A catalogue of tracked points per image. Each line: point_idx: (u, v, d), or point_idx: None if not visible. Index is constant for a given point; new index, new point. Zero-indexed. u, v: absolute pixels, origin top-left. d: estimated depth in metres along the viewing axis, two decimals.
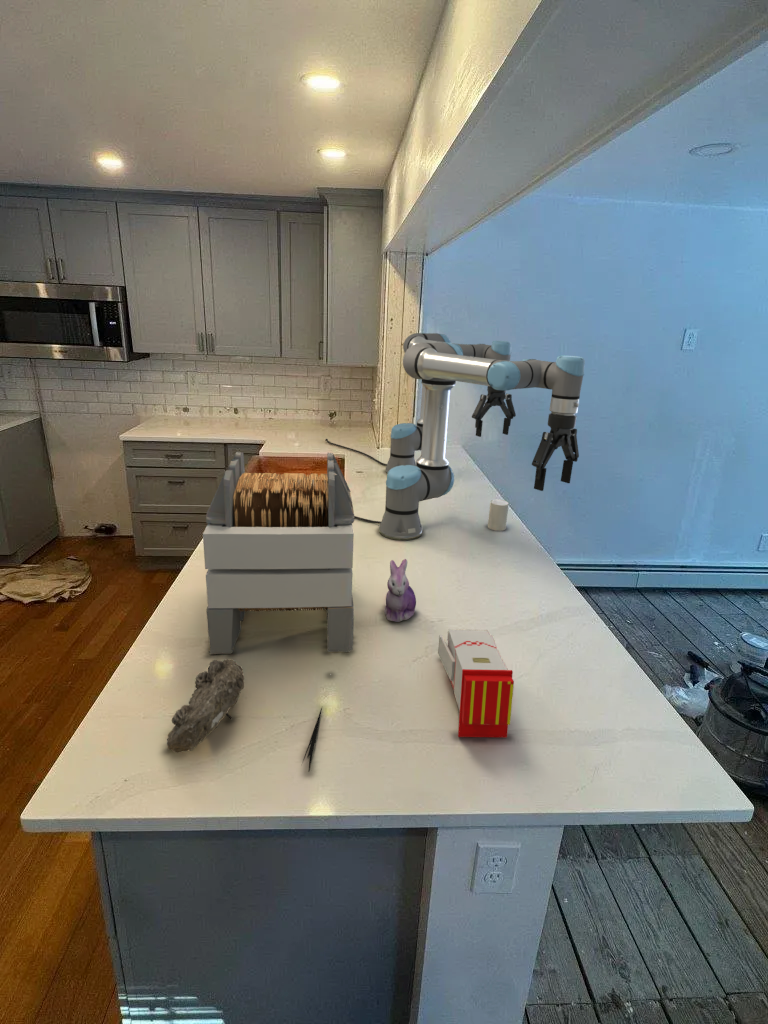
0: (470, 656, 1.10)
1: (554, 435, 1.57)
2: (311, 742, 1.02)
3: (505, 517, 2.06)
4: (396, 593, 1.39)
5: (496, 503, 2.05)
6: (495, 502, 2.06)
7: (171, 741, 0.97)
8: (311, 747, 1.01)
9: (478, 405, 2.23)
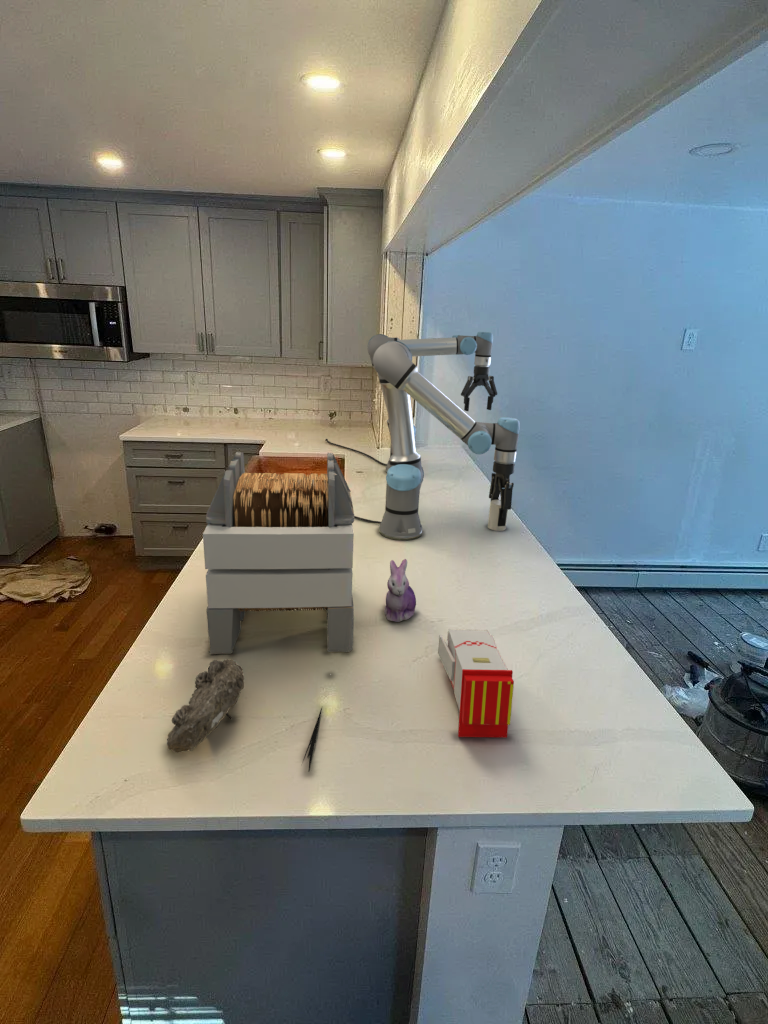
0: (470, 656, 1.10)
1: None
2: (311, 742, 1.02)
3: None
4: (396, 593, 1.39)
5: (496, 503, 2.05)
6: (495, 502, 2.06)
7: (171, 741, 0.97)
8: (311, 747, 1.01)
9: (466, 385, 2.71)
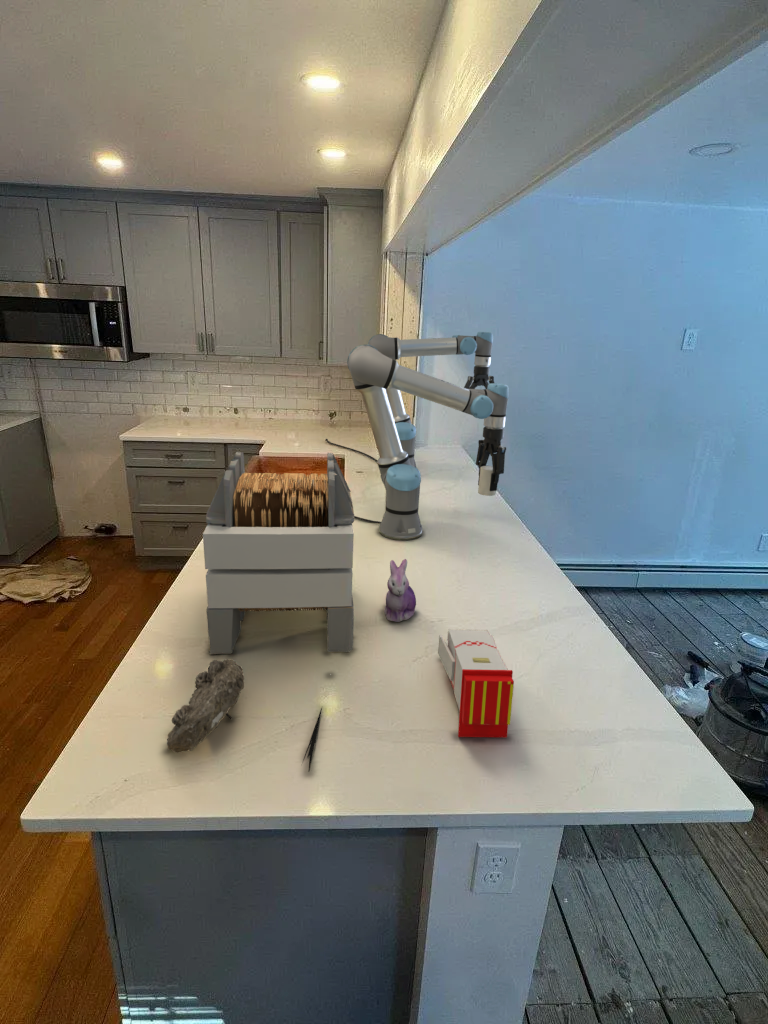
0: (470, 656, 1.10)
1: (500, 446, 2.05)
2: (311, 742, 1.02)
3: None
4: (396, 593, 1.39)
5: (487, 469, 2.09)
6: (485, 468, 2.10)
7: (171, 741, 0.97)
8: (311, 747, 1.01)
9: (466, 385, 2.71)
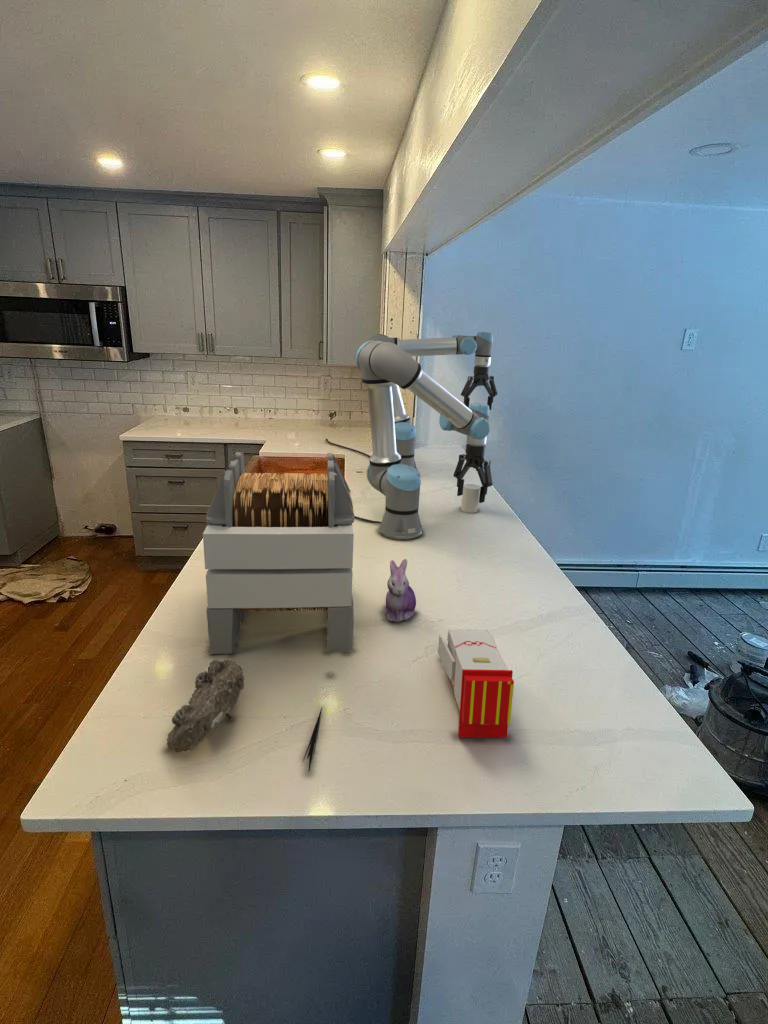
0: (470, 656, 1.10)
1: None
2: (311, 742, 1.02)
3: (478, 499, 2.25)
4: (396, 593, 1.39)
5: (471, 487, 2.22)
6: (468, 487, 2.23)
7: (171, 741, 0.97)
8: (311, 747, 1.01)
9: (466, 385, 2.71)
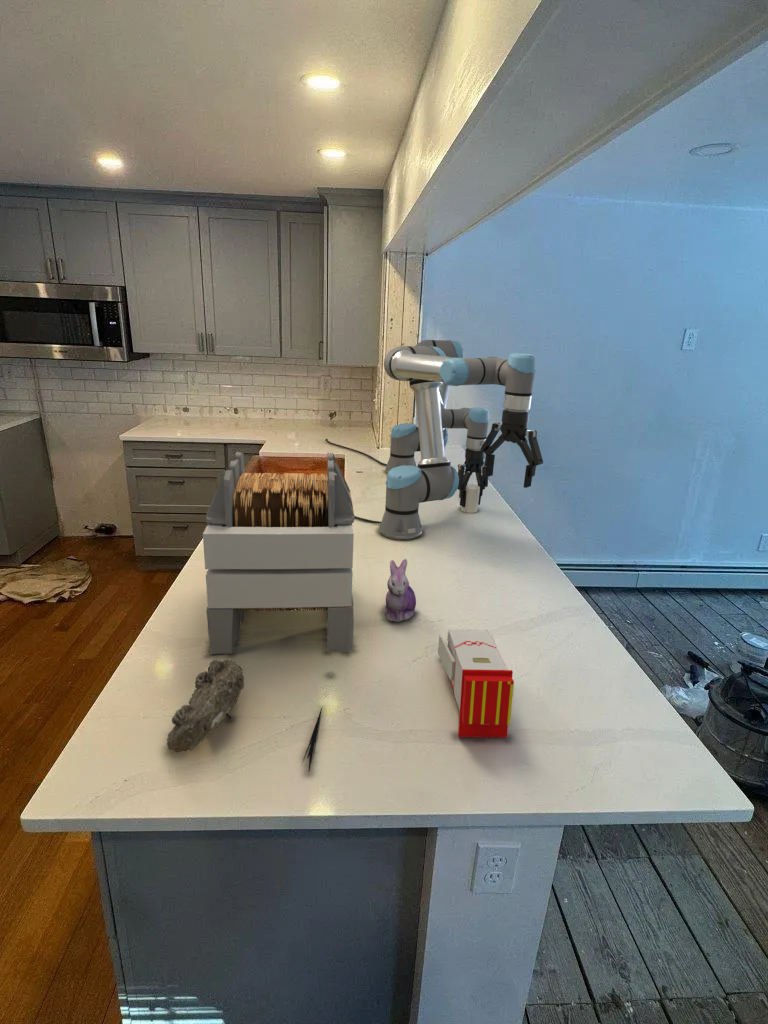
0: (470, 656, 1.10)
1: None
2: (311, 742, 1.02)
3: (478, 499, 2.25)
4: (396, 593, 1.39)
5: (471, 487, 2.22)
6: (468, 486, 2.23)
7: (171, 741, 0.97)
8: (311, 747, 1.01)
9: (458, 476, 2.20)
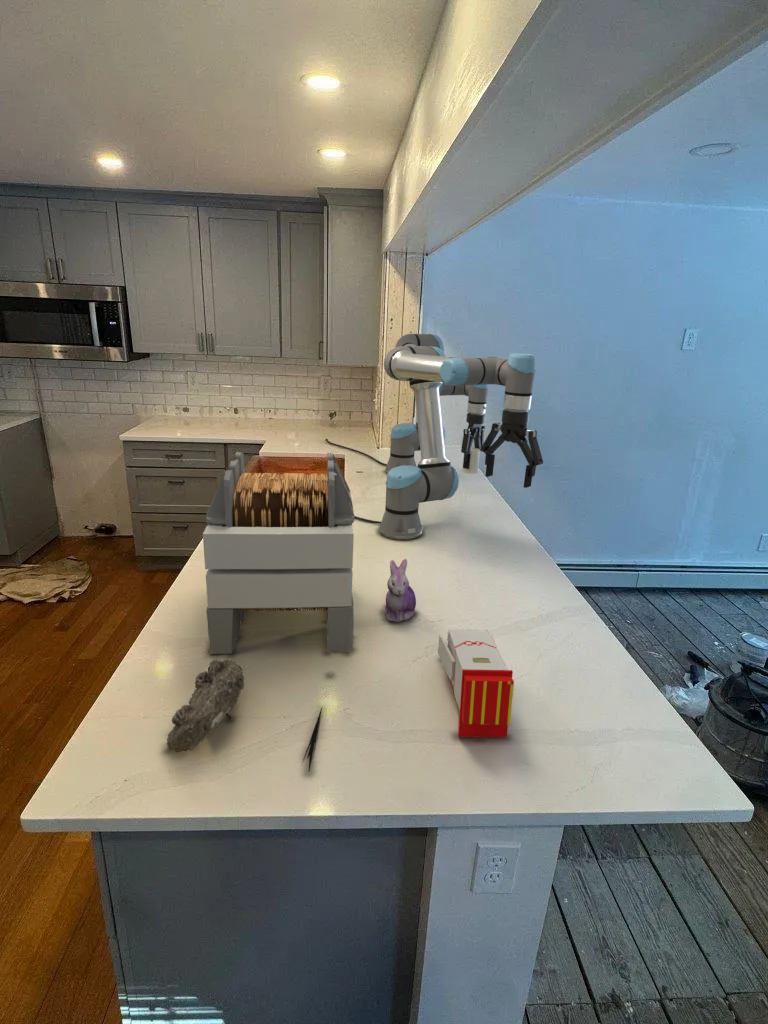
0: (470, 656, 1.10)
1: None
2: (311, 742, 1.02)
3: None
4: (396, 593, 1.39)
5: (473, 450, 2.38)
6: None
7: (171, 741, 0.97)
8: (311, 747, 1.01)
9: (464, 440, 2.34)
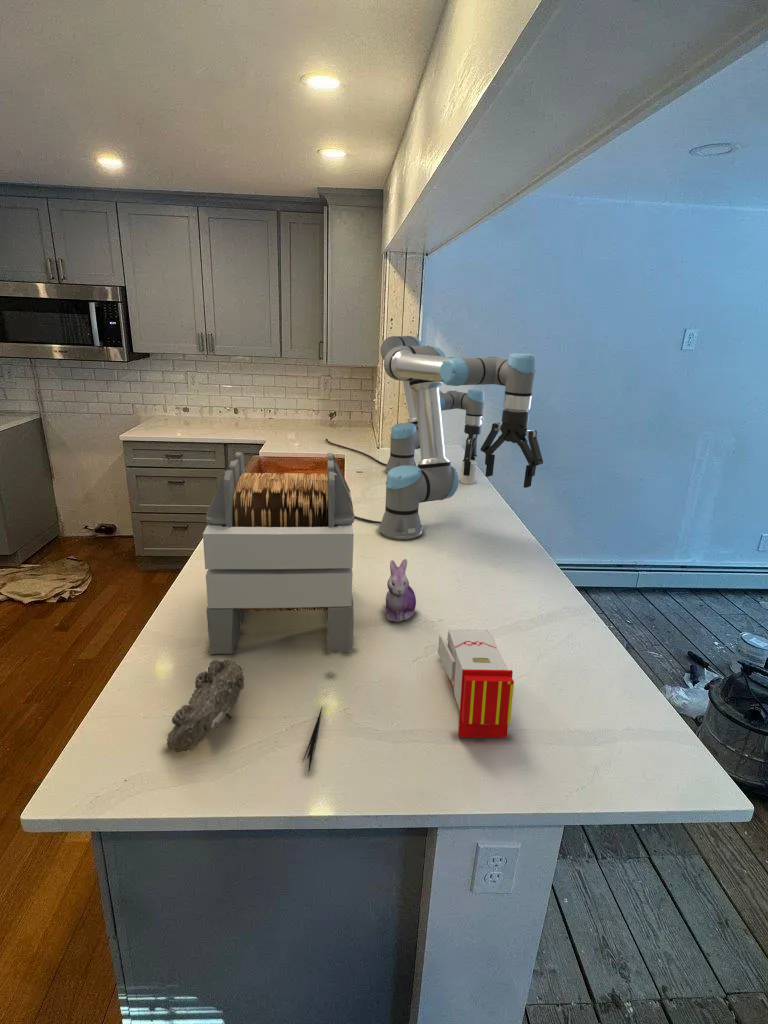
0: (470, 656, 1.10)
1: None
2: (311, 742, 1.02)
3: None
4: (396, 593, 1.39)
5: (472, 462, 2.59)
6: None
7: (171, 741, 0.97)
8: (311, 747, 1.01)
9: (466, 449, 2.52)
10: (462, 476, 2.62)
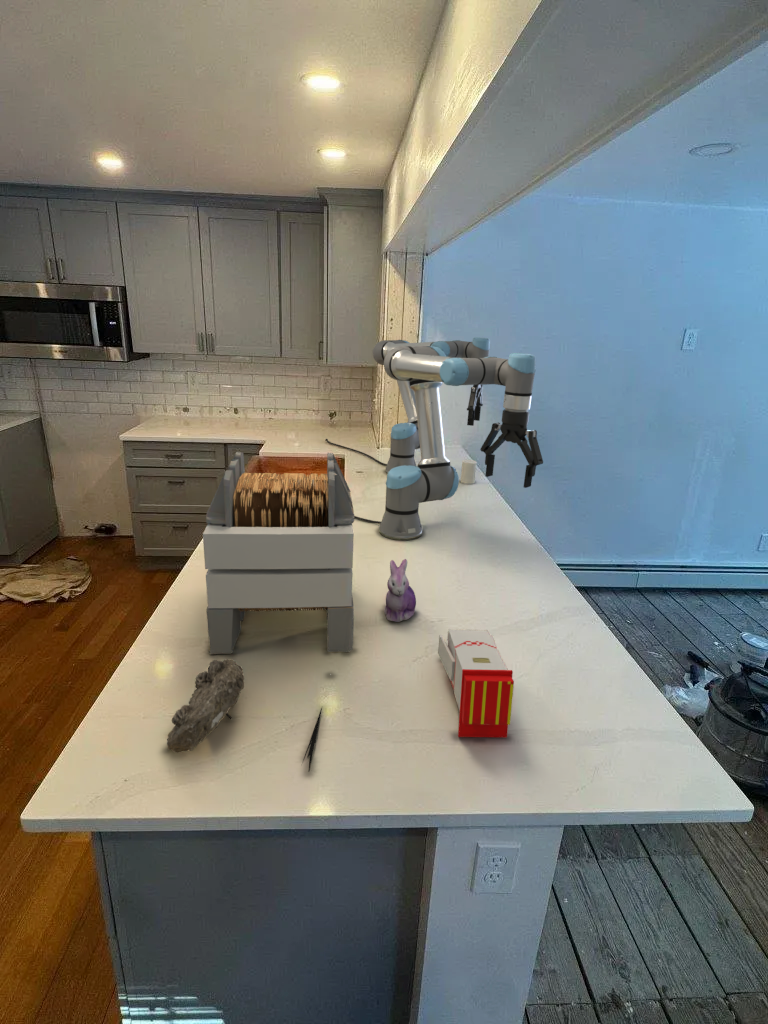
0: (470, 656, 1.10)
1: None
2: (311, 742, 1.02)
3: None
4: (396, 593, 1.39)
5: (472, 462, 2.59)
6: (469, 462, 2.60)
7: (171, 741, 0.97)
8: (311, 747, 1.01)
9: (471, 397, 2.44)
10: (462, 476, 2.62)
